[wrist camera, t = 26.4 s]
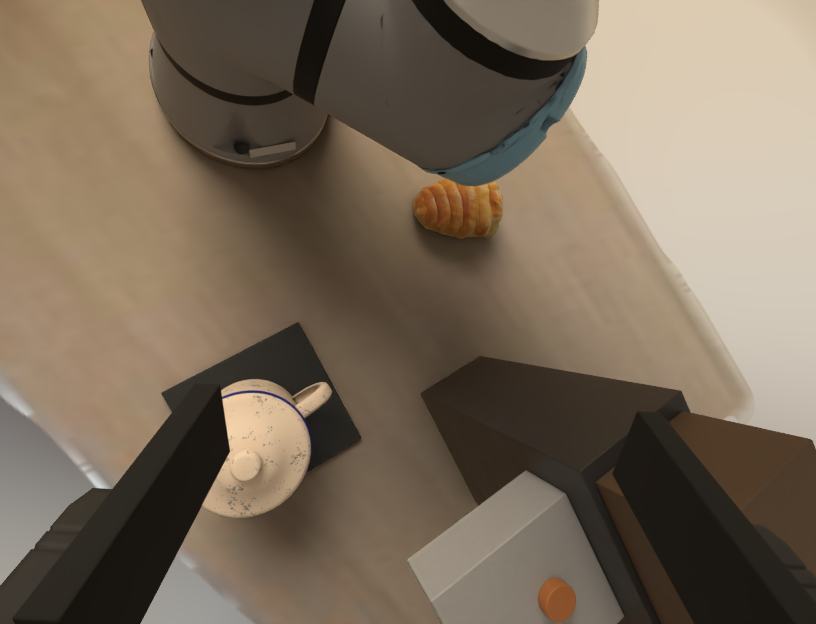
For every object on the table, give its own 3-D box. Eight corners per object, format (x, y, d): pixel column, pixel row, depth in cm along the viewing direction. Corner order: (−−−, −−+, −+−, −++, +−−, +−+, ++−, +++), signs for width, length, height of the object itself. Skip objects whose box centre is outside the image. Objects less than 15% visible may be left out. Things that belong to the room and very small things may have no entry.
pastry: (414, 244, 44) (427, 237, 41) (406, 180, 44) (418, 167, 41) (492, 238, 47) (511, 231, 44) (485, 178, 47) (503, 166, 44)
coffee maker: (403, 557, 43) (659, 1013, 15) (340, 443, 42) (494, 712, 13) (531, 461, 48) (907, 665, 20) (480, 355, 47) (811, 412, 18)
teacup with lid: (236, 496, 38) (222, 569, 27) (175, 415, 37) (134, 457, 25) (347, 416, 41) (375, 451, 30) (295, 339, 40) (306, 346, 29)
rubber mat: (236, 514, 38) (236, 517, 38) (162, 392, 37) (160, 393, 36) (360, 436, 42) (361, 438, 42) (298, 322, 40) (298, 322, 40)
